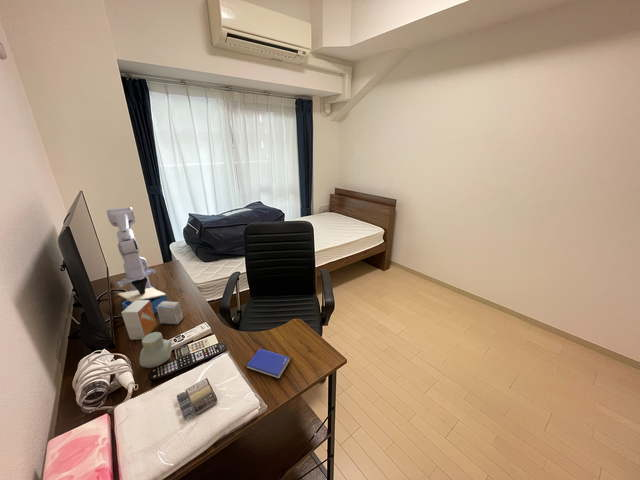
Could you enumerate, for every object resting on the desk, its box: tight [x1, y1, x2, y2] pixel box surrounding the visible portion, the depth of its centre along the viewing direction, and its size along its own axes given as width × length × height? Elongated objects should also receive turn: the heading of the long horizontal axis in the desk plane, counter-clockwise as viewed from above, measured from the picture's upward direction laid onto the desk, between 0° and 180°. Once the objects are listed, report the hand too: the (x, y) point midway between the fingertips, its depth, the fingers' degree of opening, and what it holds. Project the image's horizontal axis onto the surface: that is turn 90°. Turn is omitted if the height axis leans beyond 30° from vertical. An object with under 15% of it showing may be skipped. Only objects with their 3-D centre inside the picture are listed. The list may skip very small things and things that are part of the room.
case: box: [120, 294, 169, 314], centre depth 116 cm, size 14×12×6 cm
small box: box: [121, 300, 158, 341], centre depth 101 cm, size 8×6×13 cm
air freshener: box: [138, 331, 173, 369], centre depth 88 cm, size 11×8×10 cm
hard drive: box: [246, 348, 291, 379], centre depth 88 cm, size 2×8×12 cm
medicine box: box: [156, 301, 184, 325], centre depth 108 cm, size 8×4×9 cm, turn 84°
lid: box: [117, 287, 167, 302], centre depth 114 cm, size 14×12×1 cm
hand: (142, 293), depth 114 cm, fingers closed
